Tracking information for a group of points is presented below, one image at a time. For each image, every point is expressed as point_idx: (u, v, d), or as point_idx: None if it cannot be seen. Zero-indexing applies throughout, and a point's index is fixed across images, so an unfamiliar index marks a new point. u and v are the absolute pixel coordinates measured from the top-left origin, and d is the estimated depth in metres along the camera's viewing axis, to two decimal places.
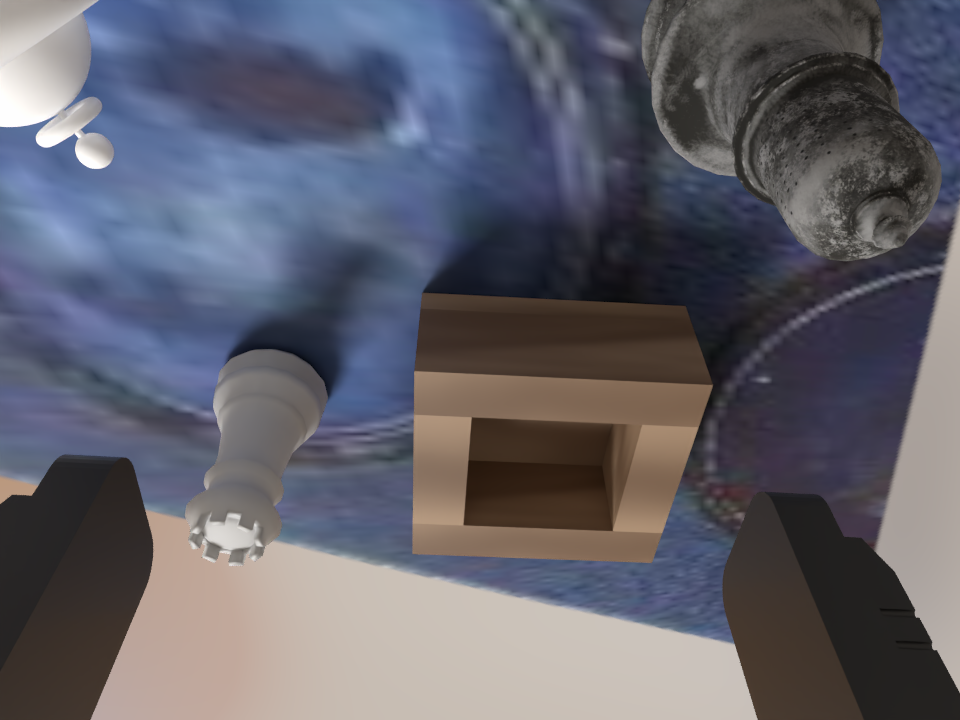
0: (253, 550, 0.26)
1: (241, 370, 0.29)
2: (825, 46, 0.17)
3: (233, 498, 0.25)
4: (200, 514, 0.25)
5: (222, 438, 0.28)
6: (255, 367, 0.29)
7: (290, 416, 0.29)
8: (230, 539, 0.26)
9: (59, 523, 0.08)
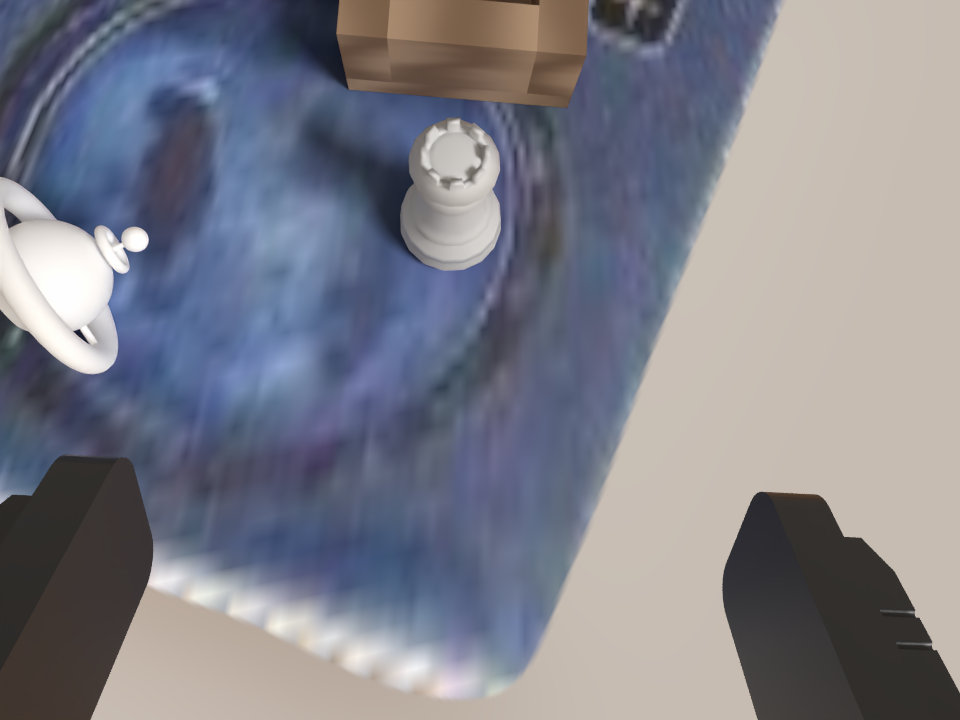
0: (472, 133, 0.27)
1: (403, 228, 0.33)
2: None
3: (413, 151, 0.27)
4: (426, 177, 0.27)
5: (433, 219, 0.30)
6: (401, 216, 0.33)
7: None
8: (460, 155, 0.27)
9: (59, 523, 0.08)
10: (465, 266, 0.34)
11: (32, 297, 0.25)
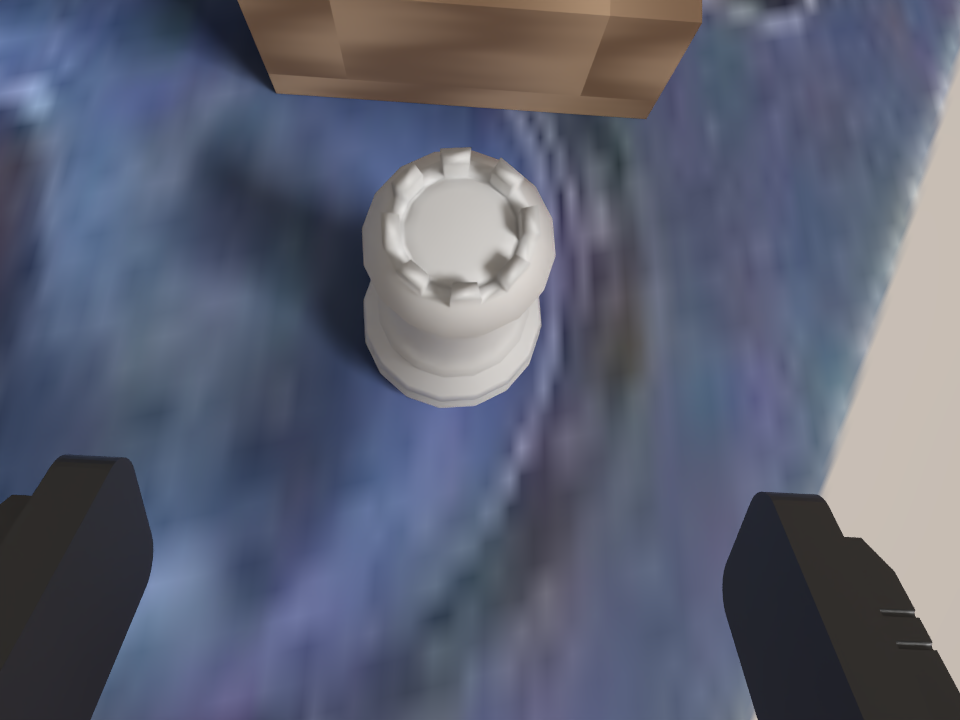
0: (498, 182, 0.12)
1: (368, 339, 0.18)
2: None
3: (372, 219, 0.13)
4: (398, 278, 0.12)
5: (419, 337, 0.16)
6: (364, 317, 0.18)
7: None
8: (471, 228, 0.12)
9: (59, 523, 0.08)
10: (479, 400, 0.19)
11: None
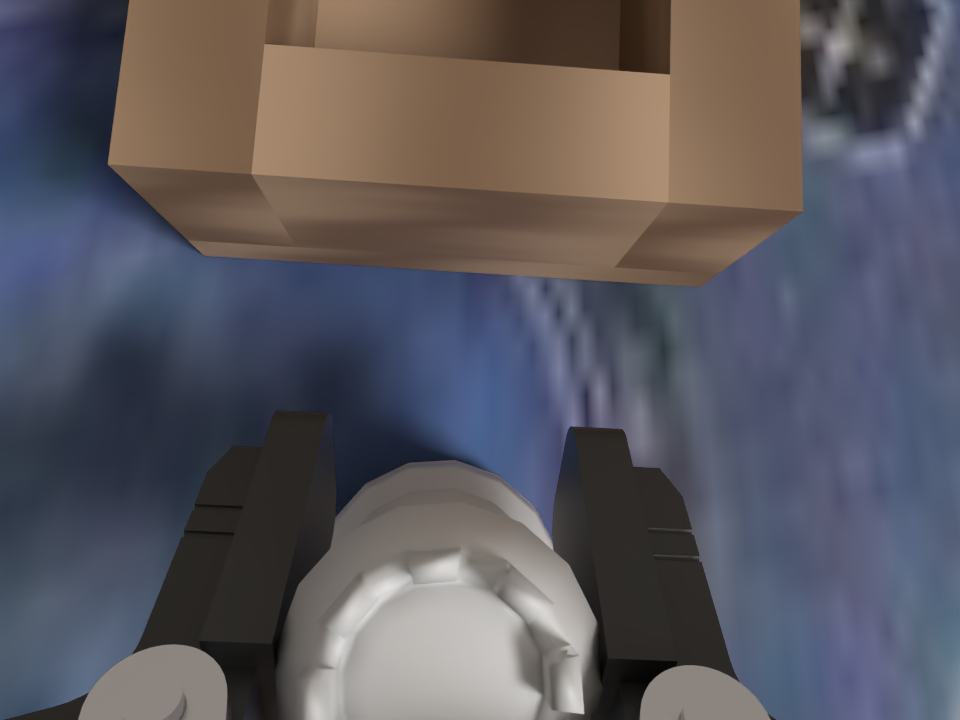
0: None
1: None
2: None
3: (291, 643, 0.07)
4: None
5: None
6: None
7: None
8: (460, 684, 0.07)
9: (295, 467, 0.09)
10: None
11: None
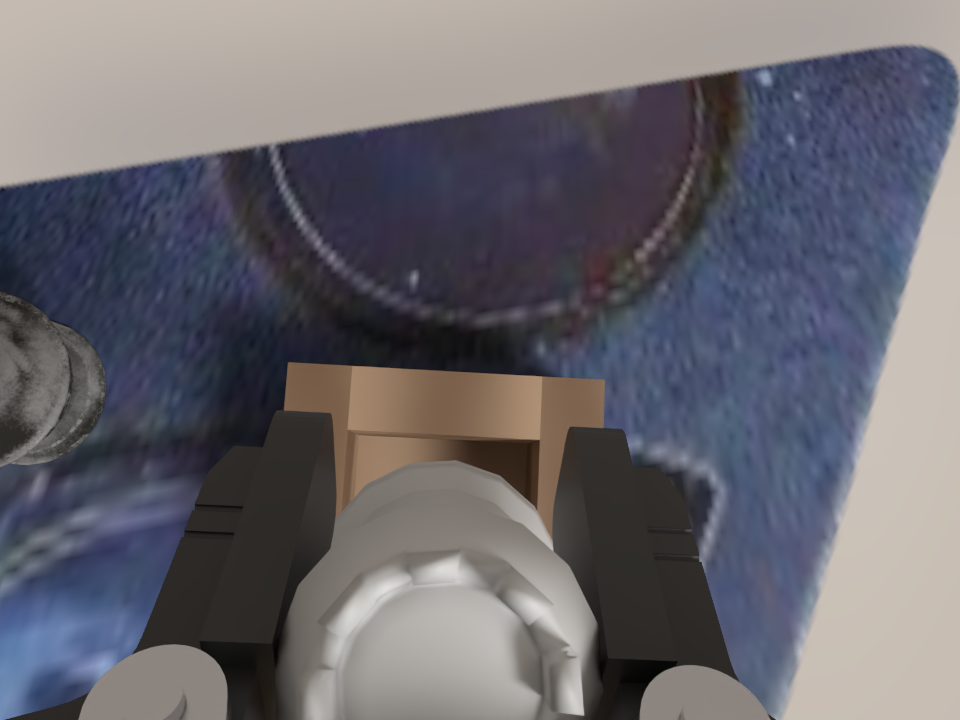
0: None
1: None
2: None
3: (290, 644, 0.07)
4: None
5: None
6: None
7: None
8: (459, 686, 0.07)
9: (295, 467, 0.09)
10: None
11: None
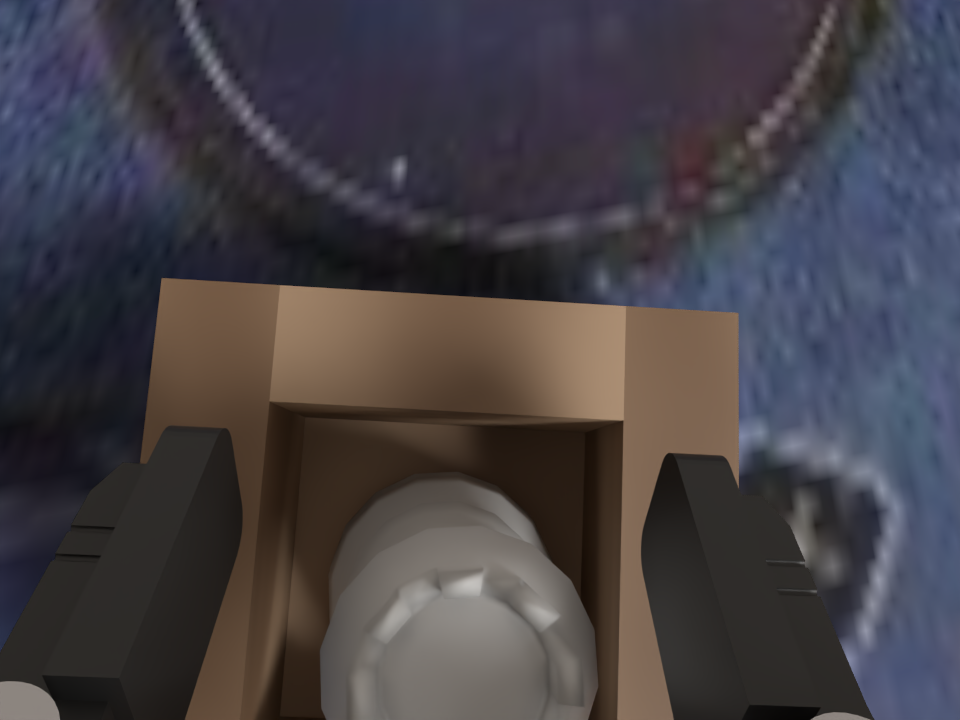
0: (521, 614, 0.08)
1: None
2: None
3: (334, 646, 0.09)
4: None
5: None
6: (329, 598, 0.14)
7: (400, 527, 0.13)
8: (480, 682, 0.08)
9: (176, 486, 0.09)
10: None
11: None
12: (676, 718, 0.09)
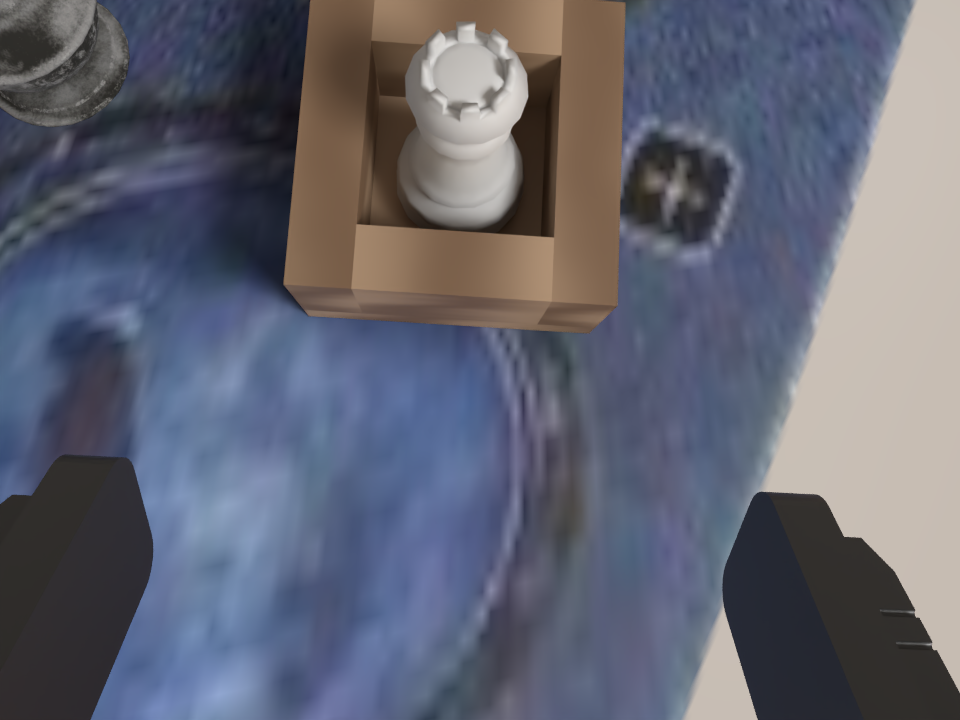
0: (492, 44, 0.20)
1: (400, 186, 0.26)
2: None
3: (412, 69, 0.20)
4: (428, 103, 0.20)
5: (438, 171, 0.23)
6: (397, 171, 0.26)
7: None
8: (474, 73, 0.20)
9: (59, 523, 0.08)
10: None
11: None
12: None
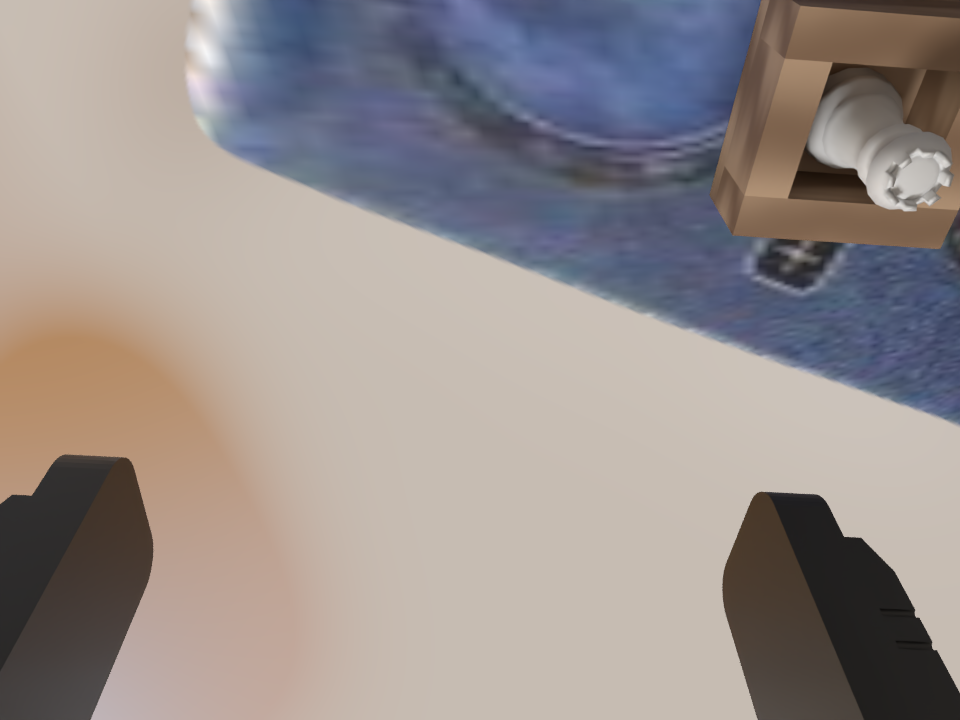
0: (930, 195, 0.30)
1: (853, 78, 0.34)
2: None
3: (932, 138, 0.30)
4: (903, 152, 0.30)
5: (856, 125, 0.33)
6: (865, 75, 0.34)
7: (899, 116, 0.34)
8: (915, 182, 0.30)
9: (58, 523, 0.08)
10: None
11: None
12: None
